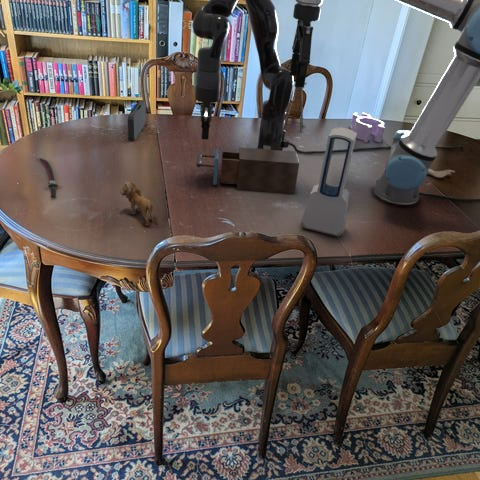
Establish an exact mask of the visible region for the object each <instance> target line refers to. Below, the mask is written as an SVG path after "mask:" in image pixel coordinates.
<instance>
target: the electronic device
mask: <svg viewBox="0 0 480 480" xmlns="http://www.w3.org/2000/svg"><path fill="white" fill-rule="evenodd" d="M356 135H357V133H356V132H354V131H353V130H351V129H350V128H346V127H333V128H332V129H331V131H330V133H329V135H328V137H327V142H326V146H325V150H324V151H325V153H324V157H323V161H322V167H321V171H320V176H319V181H318V183H317V184H315V185H313V187H312V189H311V191H310V194H309V196H308V200H307V202H306V205H305V209H304V212H303V216H302V218H301V221H300V224H301V226H302V228H303V229H306V230H309V231H314V232H318V233H322V234H325V235H329V236H332V237H333V236H334V237H339V236H342V235H343V233H344V230H345V227H346V222H347V215H348V209H349V208H348V207H349V199H350V193H349V191H348V190H347V189H346V188H345V186H346V182H347V181H346V180H347V178H348V173H349V169H350V165H351V160H352V156H353V152H354V151H353V149H355V148H354V147H355V144H356V140H357V138H356ZM335 140H342V141H345V142H347V143H348V144H347V147H346V149H347V151H346V152H345V156H344V157H345V158H344V161H343V165H342V170H341V174H340V179H339V182H338V186H336V185H335V186H334V185H330V184H328V183H327V178H328V173H329V169H330V164H331V159H332V155H333V152H332V150H334V145H335Z"/></svg>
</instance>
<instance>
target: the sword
mask: <svg viewBox="0 0 480 480" xmlns="http://www.w3.org/2000/svg"><path fill="white" fill-rule="evenodd" d="M40 161H41V162H42V163H43V165H44V166H45V169H46V173H47V176H48V185H47V188H50V198H56V197H57V189H56V188H57V187H59V185H58V184H57V183H56V180H55V176H54V172H53V169H52V167H51V164H50V163H49V161H48V160H46V159H43V158H40Z"/></svg>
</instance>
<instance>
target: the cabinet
mask: <svg viewBox="0 0 480 480" xmlns="http://www.w3.org/2000/svg"><path fill="white" fill-rule="evenodd" d="M238 152H239V169H238V179H237V184H235V185H236V190H240V191H253V192H268V193H269V192H270V193H282V194H295V193H296V192H295V191H296V186H297V181H298V174H299V169H300V161H299V158H298V154H297V152H296V151H291V150H282V151H280V150H267V149H257V148H253V147H238Z"/></svg>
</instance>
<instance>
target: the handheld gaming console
mask: <svg viewBox="0 0 480 480" xmlns="http://www.w3.org/2000/svg"><path fill="white" fill-rule="evenodd" d="M146 103H147V102H146V100H144V99H143V100H142V99H140V100H138V102H137V103H135V105H134V107H133V108H132V109H131V110H130V112H129V113H128V115H127V138H128V140H130V141H135V140H137V138H138V136H139V134H140V133H141V132H142V130H143V128H144V126H145V125H146V122H147V107H146V106H147V104H146Z"/></svg>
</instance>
